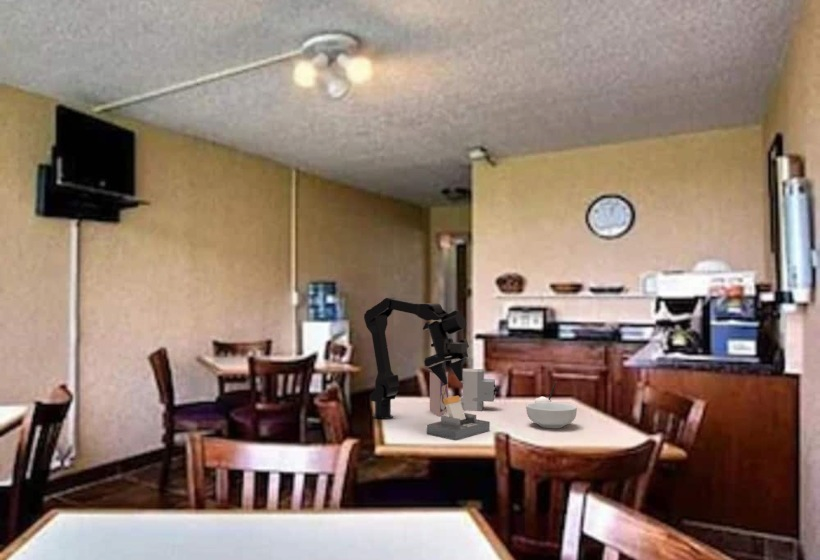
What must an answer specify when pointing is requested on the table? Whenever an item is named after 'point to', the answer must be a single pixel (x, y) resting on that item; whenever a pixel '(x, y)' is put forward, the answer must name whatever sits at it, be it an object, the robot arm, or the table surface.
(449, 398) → the lever
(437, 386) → the pink box
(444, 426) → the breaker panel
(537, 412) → the cereal bowl
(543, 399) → the white mound with stick
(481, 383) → the circuit breaker
